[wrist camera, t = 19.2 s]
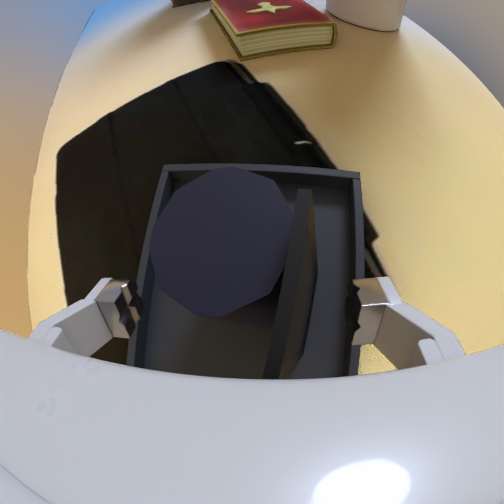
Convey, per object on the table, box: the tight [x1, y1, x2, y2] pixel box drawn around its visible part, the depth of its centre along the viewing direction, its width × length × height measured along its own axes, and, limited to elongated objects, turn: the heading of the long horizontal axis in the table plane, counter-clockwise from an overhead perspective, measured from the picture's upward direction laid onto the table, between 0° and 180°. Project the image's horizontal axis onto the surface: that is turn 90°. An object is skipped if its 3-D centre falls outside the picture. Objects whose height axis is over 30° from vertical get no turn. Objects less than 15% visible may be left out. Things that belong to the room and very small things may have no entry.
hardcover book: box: [210, 0, 337, 61], centre depth 26 cm, size 12×21×4 cm, turn 16°
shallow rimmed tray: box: [127, 164, 364, 379], centre depth 17 cm, size 17×14×2 cm
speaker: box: [149, 167, 318, 379], centre depth 12 cm, size 8×6×10 cm
